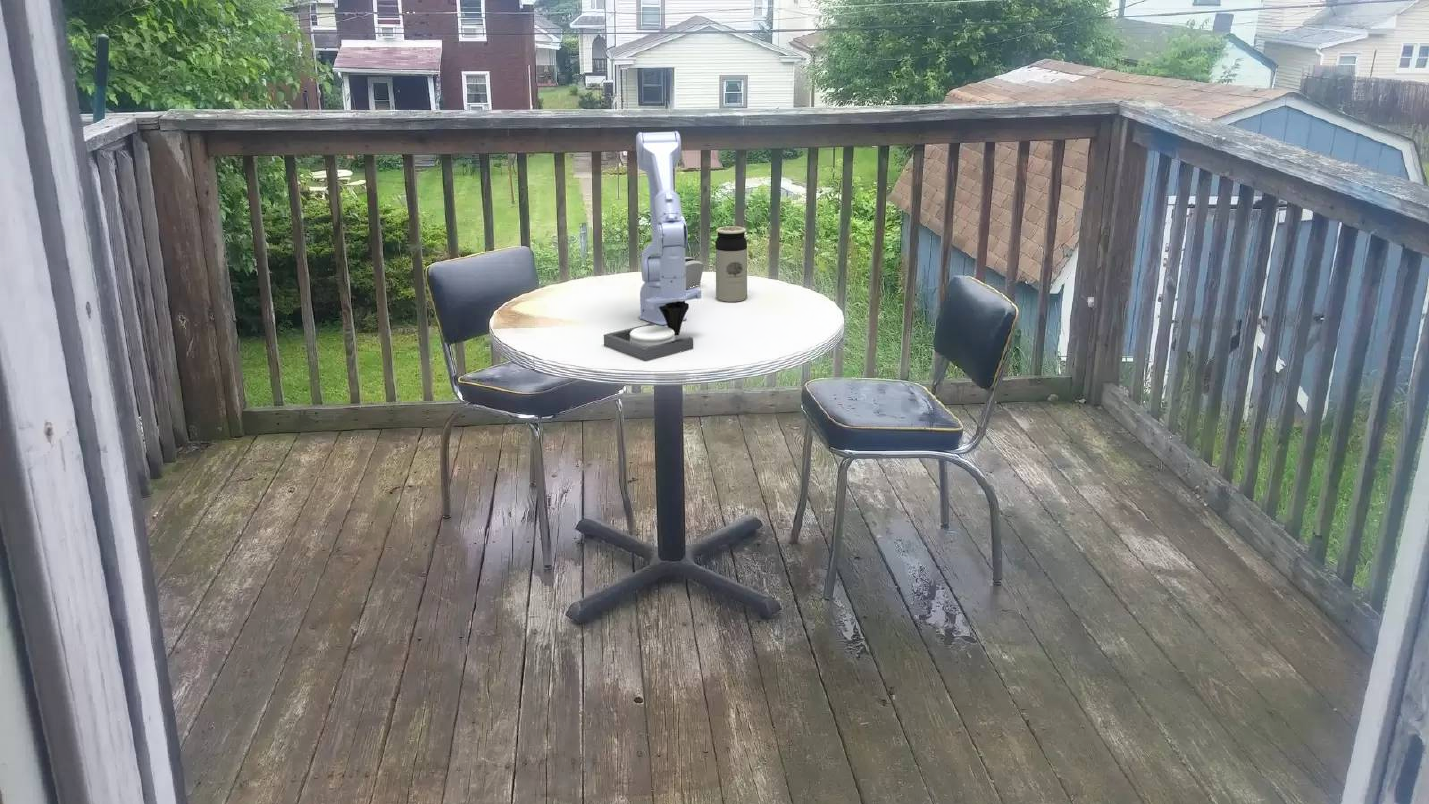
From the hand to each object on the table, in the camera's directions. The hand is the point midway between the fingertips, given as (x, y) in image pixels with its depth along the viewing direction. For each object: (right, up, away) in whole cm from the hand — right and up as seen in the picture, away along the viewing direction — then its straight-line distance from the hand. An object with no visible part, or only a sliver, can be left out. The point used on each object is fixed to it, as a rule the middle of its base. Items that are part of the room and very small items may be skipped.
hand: (674, 334), depth 252 cm
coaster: (-5, -3, -3) cm, 6 cm away
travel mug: (+13, +11, +35) cm, 39 cm away
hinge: (-1, +14, +43) cm, 45 cm away
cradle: (-6, -3, -4) cm, 8 cm away
